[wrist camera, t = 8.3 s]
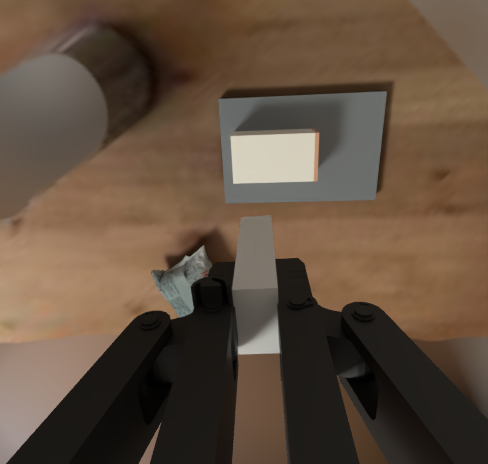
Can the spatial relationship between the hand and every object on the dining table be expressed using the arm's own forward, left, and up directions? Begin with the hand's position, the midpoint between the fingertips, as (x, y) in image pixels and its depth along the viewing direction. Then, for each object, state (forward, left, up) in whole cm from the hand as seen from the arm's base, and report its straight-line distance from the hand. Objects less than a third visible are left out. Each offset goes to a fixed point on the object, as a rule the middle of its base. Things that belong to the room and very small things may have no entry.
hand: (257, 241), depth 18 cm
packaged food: (+6, -19, -26) cm, 33 cm away
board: (+3, +3, -25) cm, 26 cm away
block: (+4, +4, -22) cm, 23 cm away
